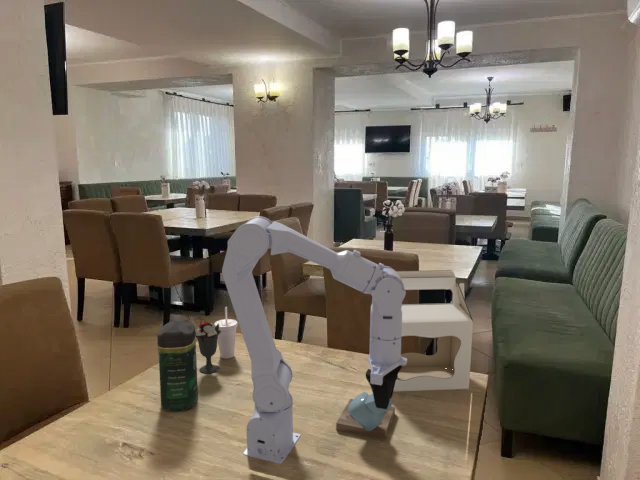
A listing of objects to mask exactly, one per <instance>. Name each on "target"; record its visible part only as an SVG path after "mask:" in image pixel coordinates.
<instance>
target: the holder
mask: <svg viewBox="0 0 640 480" xmlns="http://www.w3.org/2000/svg"><path fill="white" fill-rule="evenodd" d="M353 399H354V398H350V399H348V401H347V403H346V405H345V407H344V409H343V410H342V413H341V414H340V416H339V418H338V419H337V421H336V423H335V426H336V427H335V430H336V431H339V432H344V433H350V434H354V435H359V436H363V437H368V438H371V439H372V438H373V439H379V440H383V441H386V438H387V436H388V433H389V430H390V428H391V425H392V423H393V420H394V416H395V415H396V407H395V406H392V405H391V408H390V410H389V411H386V412H384V413H385V414H384V418H383V420H382V421H381V423H380V424H379V425H378V426H377V427H376V428H374V429H373V430H371V431H366V430H365V429H364V428H363V427H362V426H361V425H360V424H359V423H358V422H357V421H356V420H355V419H354V418H353V417H352V416H351V415H350V413H349V412H348V407H349V405H350V403H351V402H352V400H353Z"/></svg>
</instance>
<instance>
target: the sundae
mask: <svg viewBox="0 0 640 480" xmlns="http://www.w3.org/2000/svg"><path fill="white" fill-rule="evenodd" d="M197 317H198V318H197V319H199V320H200V323H199V324H198V328H197V330H195V336H196V340H197V342H198V349H199V352H200V355H202V356H203V357H204V358H205V359H206V363H205V365H203V366H201V367H199V372H200V373H201V374H204V375H205V374H207V375H208V374H214V373H215V372H217V371H218V370H220V367H219V366H218V365H216V364H213V363H212V357H213V356H214V355H215V354H216V353H217V348H218V335H219V334H220V333H221V331H220V330H219V323H218V324H217V326H216V327H215V326H214V324H213V323H212V322H209V321H207V320H205V319H203V320H201V319H202V316H201V315H200V316H197ZM202 321H204V323H202Z"/></svg>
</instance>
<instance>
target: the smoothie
mask: <svg viewBox="0 0 640 480" xmlns="http://www.w3.org/2000/svg"><path fill="white" fill-rule="evenodd" d="M224 317H225V318H224V319H219V320H217V321H215V322H214V324H213V325H214V326H215V327H216V326H217V324H218V323H219V330H220V331H221V333H220V334H219V335H218V339H217V346H218V350H219V356H220V357H221V358H222V359H225V360H226V359H231V358H233V357H234V356H235V347H236V346H235V345H236V338H237V337H236V335H237V328H238V326H239V323H238V320H236V319H230V318H228V306H225V307H224Z"/></svg>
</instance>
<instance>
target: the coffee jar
mask: <svg viewBox="0 0 640 480" xmlns="http://www.w3.org/2000/svg"><path fill="white" fill-rule="evenodd" d="M195 332H196V326H195V324H194V323H192V321H189V320H188V319H176V320H175V319H173V320H170V321H168V322H167V323H165V324H164V325H163V326H162V327H161V328H160V330H159V331H158V333H157V337H156V338H157V353H158V367H159V387H160V388H159V389H160V407H161V408H162V409H163V410H164V411H170V412H181V411H184V410H187V409H190V408H192V407H194V406H195V405H196V402H197V399H198V394H199V390H198V389H199V388H198V366H197V341H196V340H197V338H196V336H195Z"/></svg>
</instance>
